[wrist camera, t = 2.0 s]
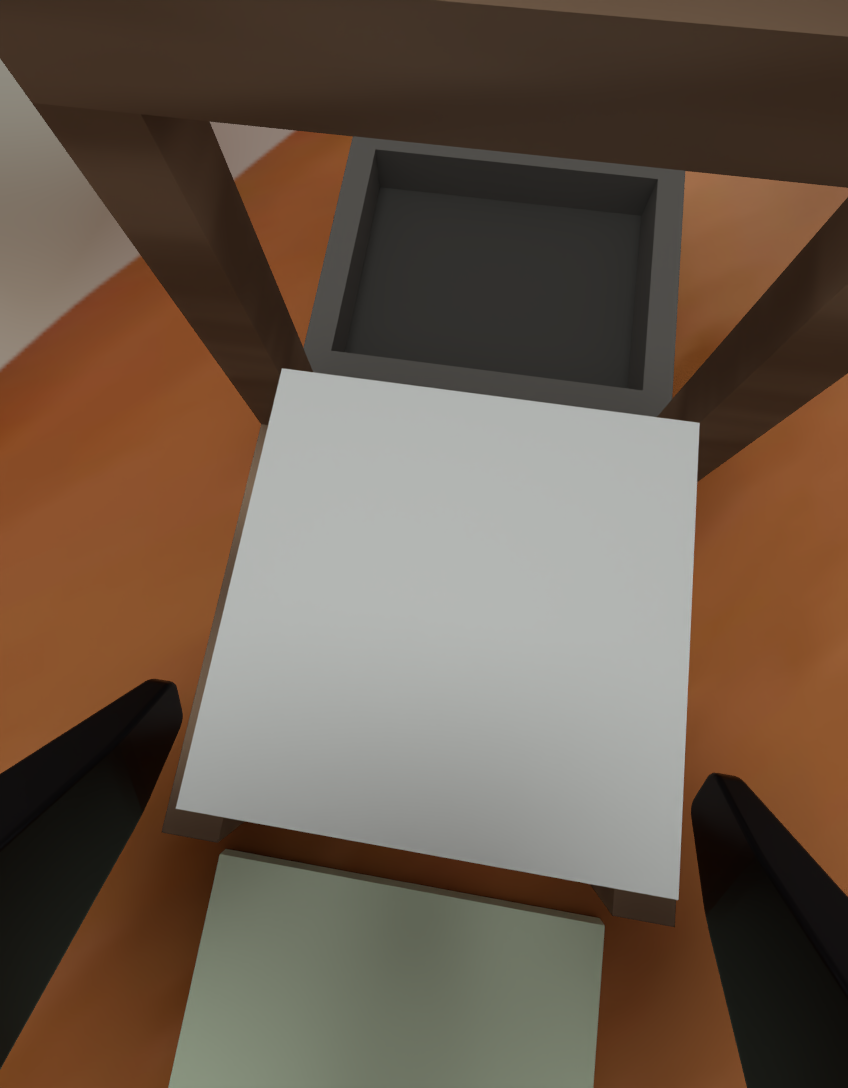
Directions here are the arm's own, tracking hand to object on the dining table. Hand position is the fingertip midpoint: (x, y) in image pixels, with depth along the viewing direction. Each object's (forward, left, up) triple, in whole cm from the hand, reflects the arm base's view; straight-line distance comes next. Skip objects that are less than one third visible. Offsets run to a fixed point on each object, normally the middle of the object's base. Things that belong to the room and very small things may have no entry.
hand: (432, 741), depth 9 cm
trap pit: (+12, -10, -9) cm, 19 cm away
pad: (-7, +6, -9) cm, 14 cm away
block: (+2, -1, -9) cm, 10 cm away
